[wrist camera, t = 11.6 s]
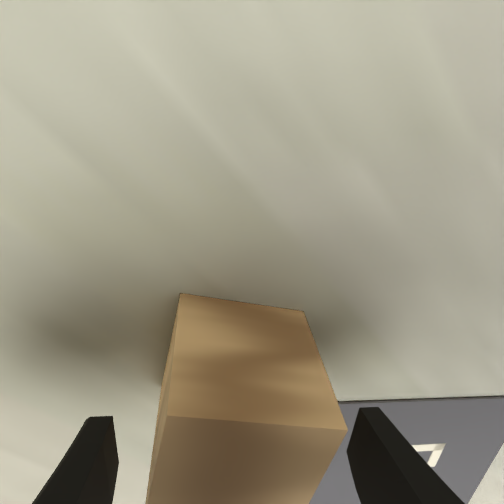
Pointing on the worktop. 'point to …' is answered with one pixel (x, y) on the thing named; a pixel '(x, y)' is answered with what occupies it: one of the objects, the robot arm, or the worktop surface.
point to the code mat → (427, 442)
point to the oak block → (242, 408)
